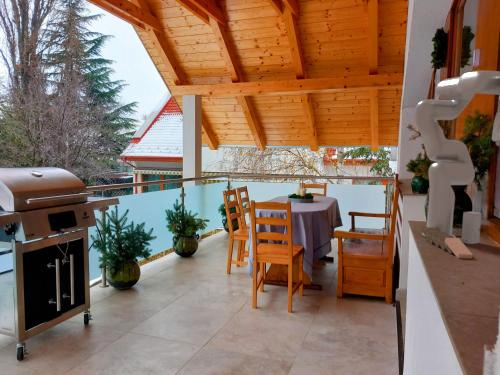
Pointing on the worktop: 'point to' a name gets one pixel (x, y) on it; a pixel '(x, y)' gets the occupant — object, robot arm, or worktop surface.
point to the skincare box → (471, 227)
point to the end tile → (458, 248)
